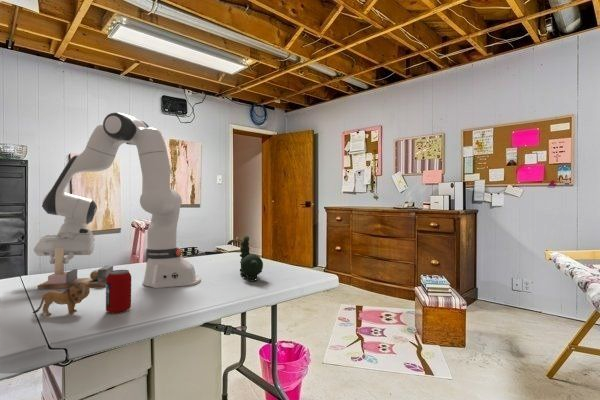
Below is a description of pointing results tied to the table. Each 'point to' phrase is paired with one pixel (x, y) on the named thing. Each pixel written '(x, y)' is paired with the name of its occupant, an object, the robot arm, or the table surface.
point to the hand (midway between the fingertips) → (58, 263)
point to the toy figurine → (249, 262)
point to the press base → (83, 280)
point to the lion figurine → (65, 297)
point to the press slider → (61, 270)
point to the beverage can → (118, 291)
